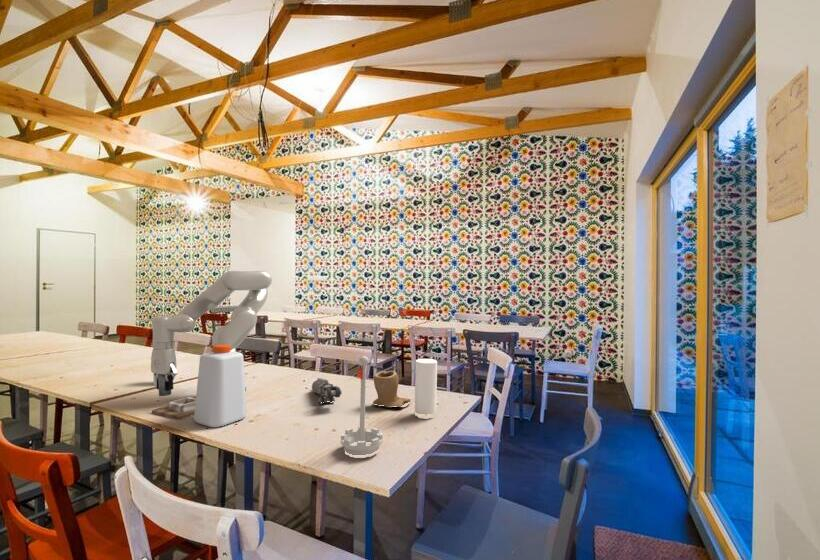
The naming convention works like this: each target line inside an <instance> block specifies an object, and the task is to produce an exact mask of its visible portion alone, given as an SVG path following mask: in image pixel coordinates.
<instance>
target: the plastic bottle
mask: <svg viewBox="0 0 820 560" xmlns="http://www.w3.org/2000/svg"><path fill="white" fill-rule="evenodd" d="M244 361H245V360H244V354H243V353H242V352H239V351H236V352H235V351H231V346H230V345H226V344H223V345H215V346H214V347H213V346H212V351H210V352H206V353H205V352H204V353H202V354H201V355H200V356H199V365H198V375H197V382H196V383H197V385H196V394H195V395H196V396H195V398H196V403H195V413H194V415H193V420H194V422H195V423H197V424H199V425H203V426H205V427H208V428H221V427H220V426H222V427H225V426H228V425H230V423H231V424H234V423H236V422H235V421H237V422H238V420H240V421H242V420H244V419H245V418H246V416H247V405H246V403H247V402H246V400H247V399H246V391H245V387H246V383H245V366H244V364H245V363H244ZM243 418H244V419H243ZM241 419H242V420H241ZM233 422H234V423H233ZM227 424H228V425H227ZM224 425H225V426H224Z"/></svg>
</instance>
